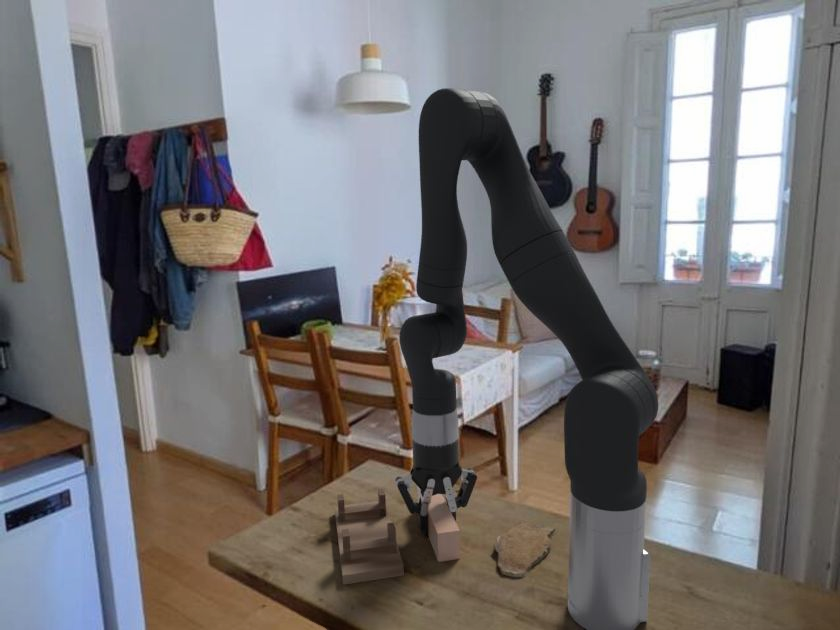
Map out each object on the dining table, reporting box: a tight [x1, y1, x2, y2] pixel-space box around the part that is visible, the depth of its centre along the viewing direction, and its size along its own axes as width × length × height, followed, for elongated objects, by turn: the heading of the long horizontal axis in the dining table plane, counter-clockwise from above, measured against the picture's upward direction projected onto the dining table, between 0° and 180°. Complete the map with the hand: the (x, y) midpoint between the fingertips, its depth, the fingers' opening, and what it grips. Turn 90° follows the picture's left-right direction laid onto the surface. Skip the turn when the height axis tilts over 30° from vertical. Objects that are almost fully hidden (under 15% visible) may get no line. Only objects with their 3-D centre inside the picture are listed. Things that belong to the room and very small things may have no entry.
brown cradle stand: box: [334, 488, 405, 586], centre depth 95 cm, size 20×9×6 cm, turn 12°
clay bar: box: [416, 485, 461, 563], centre depth 97 cm, size 4×16×5 cm, turn 12°
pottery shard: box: [492, 520, 556, 579], centre depth 92 cm, size 8×3×15 cm
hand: (437, 530), depth 98 cm, fingers closed on clay bar, 3 cm apart
